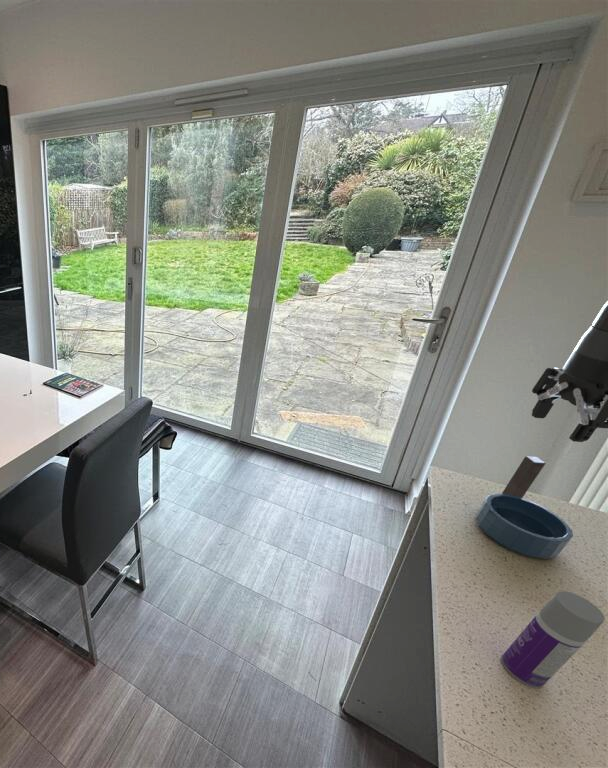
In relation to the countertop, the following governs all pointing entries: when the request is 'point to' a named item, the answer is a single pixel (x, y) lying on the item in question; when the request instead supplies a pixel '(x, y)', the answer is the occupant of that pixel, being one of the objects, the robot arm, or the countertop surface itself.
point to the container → (551, 638)
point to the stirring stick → (524, 476)
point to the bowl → (523, 526)
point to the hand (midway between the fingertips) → (555, 428)
